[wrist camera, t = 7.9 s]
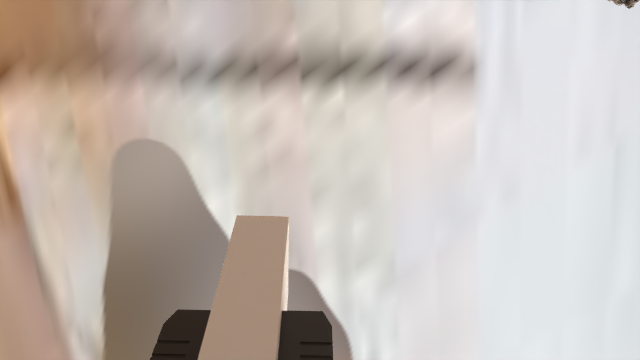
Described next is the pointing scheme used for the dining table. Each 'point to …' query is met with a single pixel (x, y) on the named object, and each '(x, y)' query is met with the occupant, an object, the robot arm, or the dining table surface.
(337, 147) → the dining table surface
